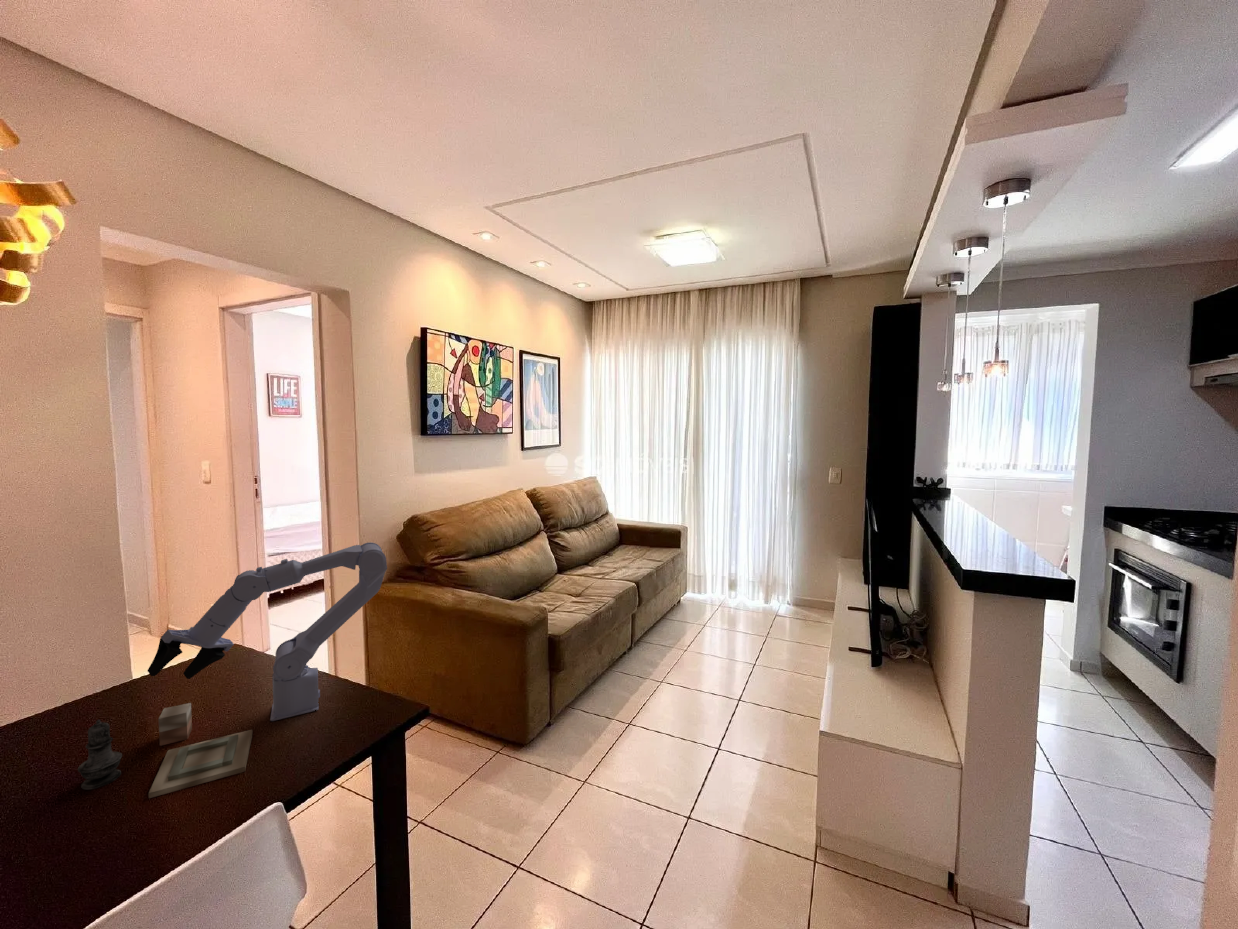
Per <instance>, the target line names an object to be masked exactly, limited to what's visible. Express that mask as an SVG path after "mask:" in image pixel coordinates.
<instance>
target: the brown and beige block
mask: <svg viewBox="0 0 1238 929" xmlns="http://www.w3.org/2000/svg"><path fill="white" fill-rule="evenodd" d="M192 721H193V719H192V703H191V702H188V703H187V702H186V703H183V704H179V705H174V706H169V707H164V708H163V710H162V711H161V714H160V715H159V717H158V732H159V733H158V735H159V736H158V738H159V746H160V747H162V746H165V745H169V744H174V743H177V742H181V741H185V740H186V741H187V740H188V739H189V737H190V734H191V732H192V729H193V723H192Z"/></svg>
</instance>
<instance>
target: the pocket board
mask: <svg viewBox="0 0 1238 929" xmlns="http://www.w3.org/2000/svg"><path fill="white" fill-rule="evenodd" d="M253 732H254V730H253V729H249V730H245V731H241V732H235V733H231V734H228V735H224V736H220V737H215V738H212V739H207V740H203V741H200V742H196V743H191V744H188V745H183V746H180V747H176V748H172V749H168V750H167V752H166V753H165V757H164V759H163V760H162V762H161V765H160V766H159V770H158V772H157V774H156V776H155V778H154V781H153V783H152V784H151V787H150V789H149V791H148V799H151V798H155V797H159V796H161V795H162V796H163V795H166V794H169V793H173V792H177V791H181V790H185V789H188V788H191V787H194V786H199V785H201V784H204V783H208V782H213V781H215V780H216V781H217V780H220V779H223V778H227V777H230V776H233V775H238V774H241V773H244V772H246V769H247V763H248V759H249V753H250V748H251V743H252V740H253V734H254V733H253Z"/></svg>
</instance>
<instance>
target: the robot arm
mask: <svg viewBox="0 0 1238 929" xmlns="http://www.w3.org/2000/svg"><path fill="white" fill-rule="evenodd" d="M382 549H383V548H381V546H380V545H379V544H378V543H376V542H365V543H363V544H361V545H360V544H356V545H351V546H349V547H345V548H342V549H340V550H337V551H334V552H330V553H327V554H324V555H321V556H318V557H314V558H312V559H309V560H308V559H307V560H305V561H298V560H295V559H290V560H288V558H285V559H281V561H280V563H278V564H273V565H269V566H266V567H262V566H259V567H256V569H255V570H253V569H249V570H246V571H243V572H241V573H240V574H237V576H236V577H235V578H234V582H233V584H232V585H231V586H230V588H228V589H226V591H225V592H224V594H222V595H221V596H220V597H218V599H217V600H216V601H215V602H214V604H213V605H212V606H210V607H209V609H208V610H207V611H206V612H205V613H204V614H203V616H201V617H200V619H199V620H198V621H197V622H196V623H195V625H193V626H190V627H189V628H188V629H167V630H166V631H165V632H164V633H163V634H162V636H160V638H159V644H158V647H157V651H156V653H155V656H154V657H153V660H152V661H151V663H150V665H149V667H148V668H147V672H148V674H149V675H150V676H151V677H155V676H157V675H158V674H159V673H160V672H161V671H162V670H163V669H164V668H165V667H166V666H167V665H168V664H169V663H171V661H173V660H174V659H175V658H177V657H178V656H179V655H181V654H182V653H183V650H182V649H181V644H184V645H189V646H197V647H200V649H199V651H198V652H197V654H196V655H195V657H194V658H193V660H192V661H191V662H190V663H189V665H188V666H187V667H186V668H185V670H184V671H183V673H182V674H183V675H184V677H185V679H187V680H190V679H192V678H193V677H194V676H196V675H197V674H198V673H200V672H201V671H203V670H204V669H205V668H207V667H209V666H210V665H211V664H213V663H216V662H217V661H218V662H219V661H220V660H223V658H224V657H225V655H226V654H225V652H229V651H230V649H231V648H232V647H233V646H234V645H235V644H234V643H233V641H232V640H231V639H230V638H229V639H228V638H225V637H223V636H224V634H226V632H228V630H229V629H230V628H231V627H232V625H233V624H234V623H235V622H236V621H237V620H238V619H239V618H240V616H241V615H242V614H243V613H244V612H245V611H246V610H247V607H248V606H249V605H250V603H252V602H253V601H255V600H257V599H259V598H260V597H261V596H262V595H263V594H264V593H270V592H273V591H276V590H280V589H283V588H286V587H290V586H293V585H296V584H299V583H301V581H302V580H303V579H304V578H305V577H306V576H310V575H314V574H316V573H320V572H324V571H328V570H331V569H336V568H339V567H343V568H347V569H351V570H354V571H356V566H358V582H357V584H356V585H354V586H353V587H352V588H351V589H350V590H349V591H348V592H347V593H345V594H344V596H342V597H341V598H340V599H338V601H337V602H336V603H334V604H333V605H332V606H331V607H330V608H329V609H328V610H327V611H325V612H324V613H323V614H322V615H321V616H320V617H319V618H317V620H315V622H314V623H312V624H311V625H310V626H308V627H307V629H305V630H304V631H302V632H301V631H300V632H299V633H298V634H297V635H295V636H294V637H293V638H291V639H288V640H285V641H283V642H282V643H280V644H279V645H278V647H277V648H276V650H275V659H274V663H273V666H272V671H273V673H272V674H271V675H272V678H271V679H272V701H273V702H272V705H271V711H270V712H271V713H270V719H269V721H270V722H275V721H278V720H282V719H283V720H284V719H287V718H291V717H295V716H299V715H305V714H308V713H311V712H316V711H318V710H319V707H320V706H319V705H320V704H319V703H318V702H319V698H321V689H319V673H318V672H319V671H318V670H319V668H318V667H312V668H311V667H309V665H307V664H308V663H309V661H311V659H313V657H314V656H315V654H316V653H317V651H318V649H319V648H320V647H321V645H322V644H324V643H325V642H326V641H327V640H328V639H329V638H330V637H331V636H333V634H334V633H335V632H337V631H338V630H339V629H340V628H341V627H342V626H343V625H344V624H345V623H346V622H348V620H350V619H351V618H352V616H354V615H355V614H356V613H357V612H358V611H359V610H360V609H361V608H362V607H364V606H365V605H366V604H367V603H368V602H369V601H371V599H372V598H373V597H374V596H375V595H377V594H378V592H379V591H380V589H381V587H382V584H383V580H384V577H385V574H386V572H387V571H388V564H387V557H386V555H385V553H384V552H383V550H382ZM315 710H316V711H315Z"/></svg>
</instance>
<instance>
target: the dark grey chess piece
mask: <svg viewBox="0 0 1238 929" xmlns="http://www.w3.org/2000/svg"><path fill="white" fill-rule="evenodd" d="M110 729H111V728H110V724H109V723H108V722H105V721H103V722H102V720H101V719H99V718H98V719H97V720H96V721H95V724H93V725H92V726H89V728H88V730H87V738H88V739H87V740H88V742H87V743H86V745H85V749H87V751H88V753H87V754H88V757H87V760H85V761H84V762H82V763H81V764H80V765H79V766H78V768H77V771H78V773H80V775H81V776H82V778H84V779H85V780H84V781H83V782H82V783H81V785H80V787H81V789H82V790H88V791H89V790H96V789H98V788H101V787H104V786H106V785H109V784H111V783H113V782H114V781H116V780H117V779H118V778H119V777H121V775H122V771H121V769H118V767H119V765H120V762H121V759H122V757H123V753H122V752H120V751H113V750H112V742H113V740H114V737H112V736H111V730H110Z"/></svg>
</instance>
